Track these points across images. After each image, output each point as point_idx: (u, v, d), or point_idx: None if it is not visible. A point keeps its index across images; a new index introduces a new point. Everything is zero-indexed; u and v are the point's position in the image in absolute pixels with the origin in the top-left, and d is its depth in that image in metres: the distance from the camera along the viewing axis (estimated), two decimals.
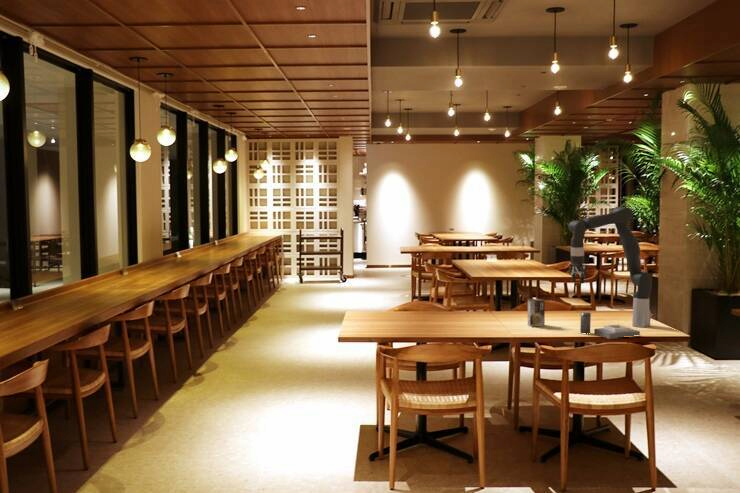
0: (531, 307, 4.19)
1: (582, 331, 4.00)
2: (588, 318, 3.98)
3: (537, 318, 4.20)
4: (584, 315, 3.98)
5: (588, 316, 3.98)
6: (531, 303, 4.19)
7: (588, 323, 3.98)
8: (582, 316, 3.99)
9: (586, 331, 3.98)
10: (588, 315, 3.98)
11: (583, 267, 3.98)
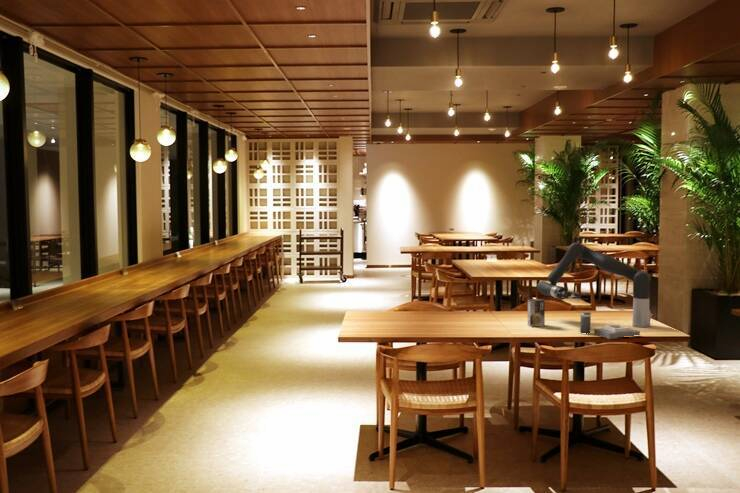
0: (531, 307, 4.19)
1: (582, 331, 4.00)
2: (588, 318, 3.98)
3: (537, 318, 4.20)
4: (584, 315, 3.98)
5: (588, 316, 3.98)
6: (531, 303, 4.19)
7: (588, 323, 3.98)
8: (582, 316, 3.99)
9: (586, 331, 3.98)
10: (588, 315, 3.98)
11: (555, 295, 4.18)
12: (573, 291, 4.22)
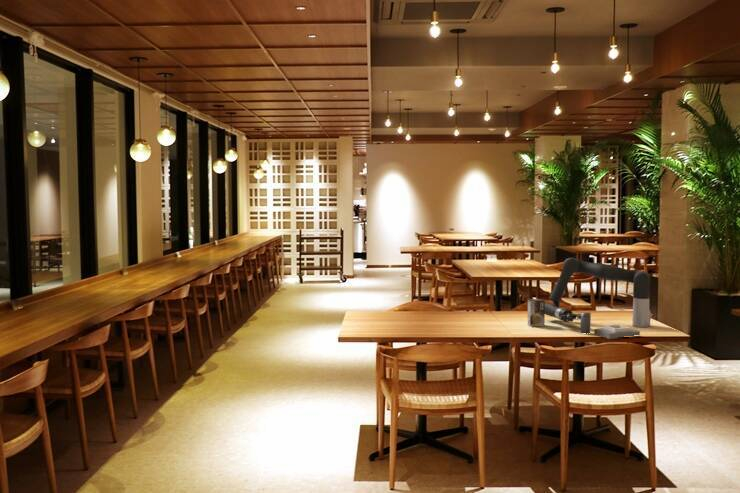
0: (531, 307, 4.19)
1: (582, 331, 4.00)
2: (588, 318, 3.98)
3: (537, 318, 4.20)
4: (584, 315, 3.98)
5: (588, 316, 3.98)
6: (531, 303, 4.19)
7: (588, 323, 3.98)
8: (582, 316, 3.99)
9: (586, 331, 3.98)
10: (588, 315, 3.98)
11: (559, 317, 4.14)
12: (578, 313, 4.18)
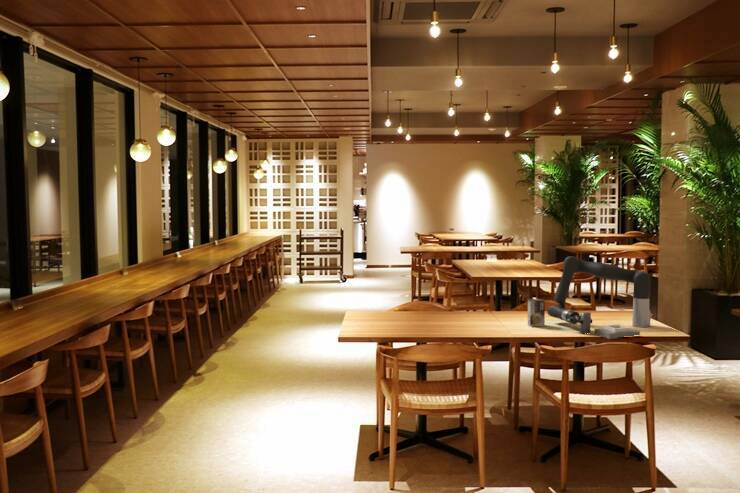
0: (531, 307, 4.19)
1: (582, 331, 4.00)
2: (588, 318, 3.98)
3: (537, 318, 4.20)
4: (584, 315, 3.98)
5: (588, 316, 3.98)
6: (531, 303, 4.19)
7: (588, 323, 3.98)
8: (582, 316, 3.99)
9: (586, 331, 3.98)
10: (588, 315, 3.98)
11: (568, 320, 4.06)
12: None
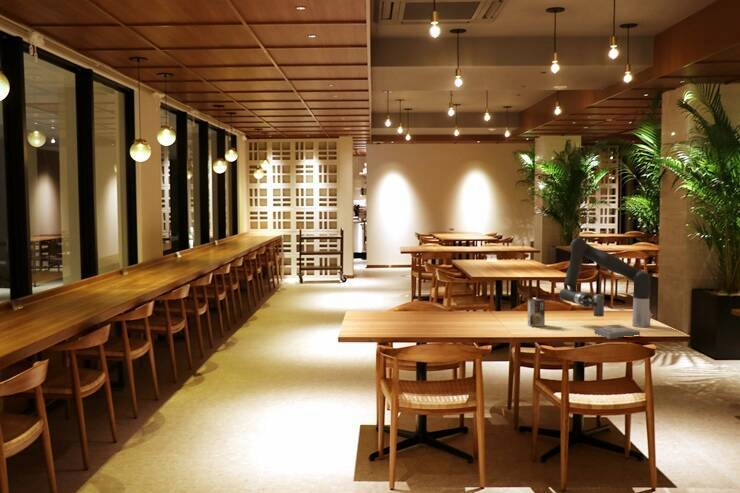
0: (531, 307, 4.19)
1: (595, 313, 3.96)
2: (601, 300, 3.95)
3: (537, 318, 4.20)
4: (597, 297, 3.95)
5: (601, 298, 3.94)
6: (531, 303, 4.19)
7: (601, 305, 3.95)
8: (595, 298, 3.96)
9: (599, 313, 3.95)
10: (601, 297, 3.95)
11: (581, 302, 4.03)
12: None
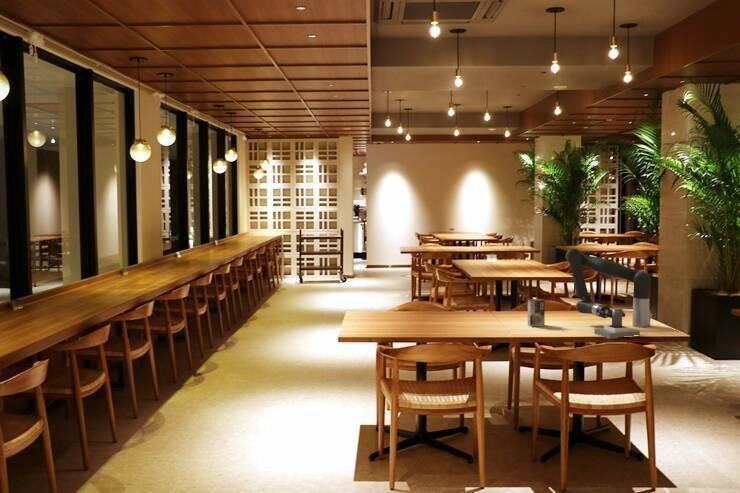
0: (531, 307, 4.19)
1: None
2: (620, 314, 3.92)
3: (537, 318, 4.20)
4: (616, 311, 3.92)
5: (619, 312, 3.92)
6: (531, 303, 4.19)
7: (620, 319, 3.93)
8: (614, 312, 3.93)
9: None
10: (620, 311, 3.92)
11: (597, 314, 4.01)
12: None
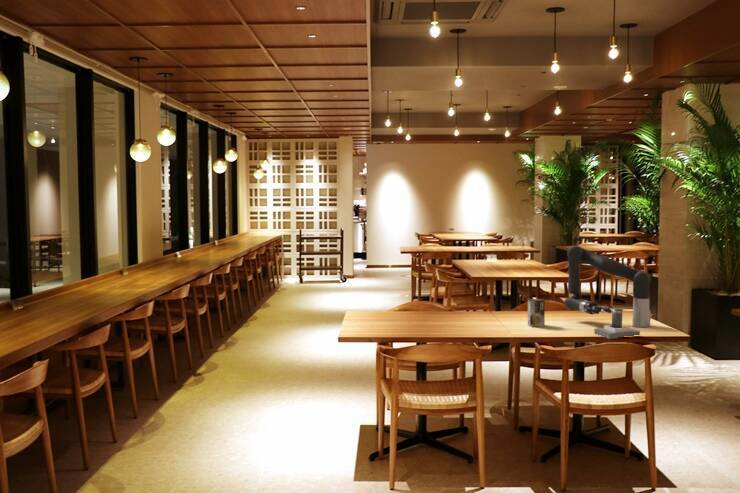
0: (531, 307, 4.19)
1: None
2: (620, 314, 3.92)
3: (537, 318, 4.20)
4: (616, 311, 3.92)
5: (619, 312, 3.92)
6: (531, 303, 4.19)
7: (620, 320, 3.92)
8: (614, 312, 3.93)
9: None
10: (620, 311, 3.92)
11: (585, 310, 4.13)
12: (603, 306, 4.17)
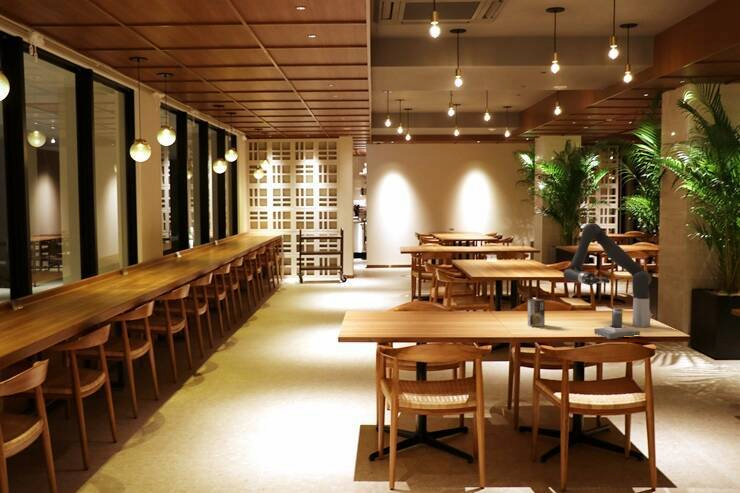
0: (531, 307, 4.19)
1: None
2: (620, 314, 3.92)
3: (537, 318, 4.20)
4: (616, 311, 3.92)
5: (619, 312, 3.92)
6: (531, 303, 4.19)
7: (620, 320, 3.92)
8: (614, 312, 3.93)
9: None
10: (620, 311, 3.92)
11: (583, 280, 4.21)
12: (601, 277, 4.25)
